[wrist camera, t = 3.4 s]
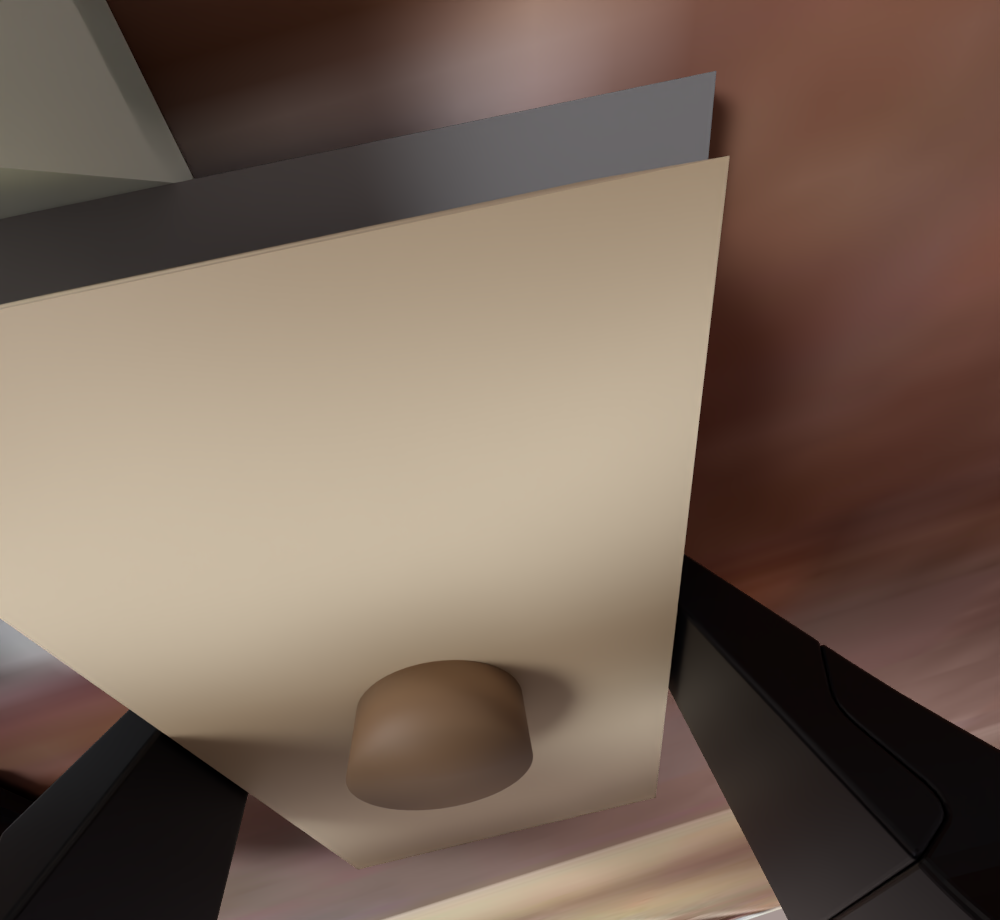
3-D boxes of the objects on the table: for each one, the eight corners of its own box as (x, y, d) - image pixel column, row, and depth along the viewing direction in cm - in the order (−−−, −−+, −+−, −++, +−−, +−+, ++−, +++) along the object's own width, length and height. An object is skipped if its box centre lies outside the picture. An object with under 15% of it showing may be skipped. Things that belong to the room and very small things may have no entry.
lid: (608, 671, 12) (672, 843, 9) (374, 726, 12) (351, 922, 8) (586, 180, 5) (830, 137, 2) (47, 294, 5) (-623, 442, 2)
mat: (656, 614, 14) (664, 630, 14) (320, 692, 14) (315, 710, 13) (693, 81, 6) (716, 71, 6) (-62, 238, 6) (-106, 240, 6)
